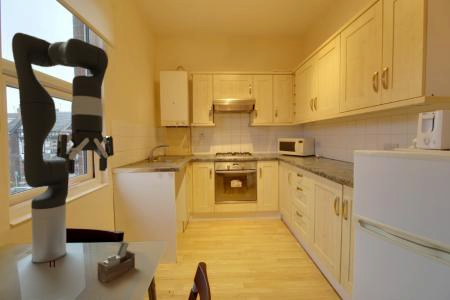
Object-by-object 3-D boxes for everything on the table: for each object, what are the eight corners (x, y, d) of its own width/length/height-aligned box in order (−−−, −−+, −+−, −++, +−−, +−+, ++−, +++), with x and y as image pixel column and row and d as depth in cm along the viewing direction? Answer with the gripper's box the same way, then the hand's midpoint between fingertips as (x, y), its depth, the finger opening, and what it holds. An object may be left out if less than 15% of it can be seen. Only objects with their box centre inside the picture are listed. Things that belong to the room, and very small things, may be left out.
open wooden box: (97, 278, 64) (97, 262, 64) (126, 263, 72) (126, 249, 72) (106, 282, 62) (106, 266, 62) (134, 267, 70) (134, 253, 70)
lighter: (107, 278, 63) (106, 250, 63) (103, 276, 64) (103, 248, 64) (129, 266, 69) (129, 241, 69) (125, 265, 70) (125, 239, 70)
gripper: (104, 118, 72) (104, 169, 72) (51, 112, 60) (52, 173, 60) (118, 116, 68) (118, 170, 68) (65, 110, 56) (66, 175, 56)
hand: (87, 172), depth 64 cm, fingers open, 8 cm apart
